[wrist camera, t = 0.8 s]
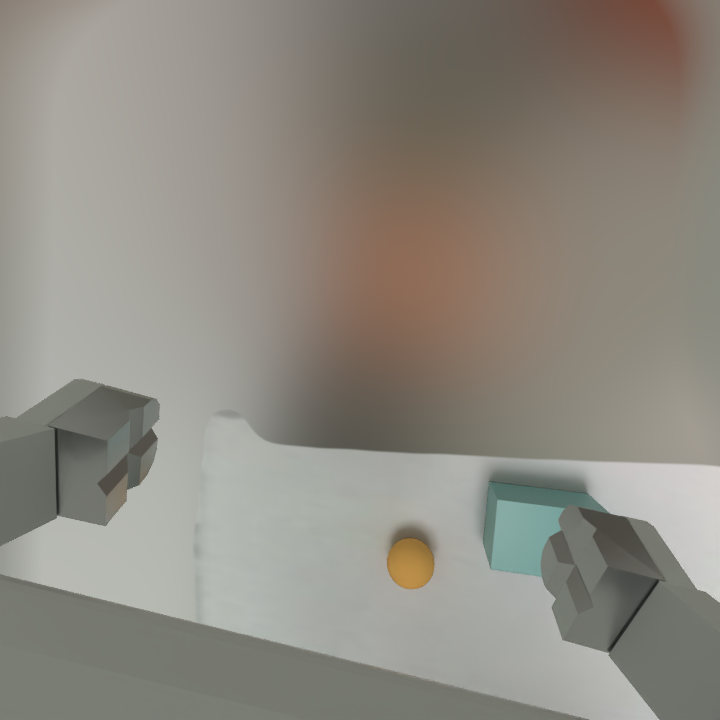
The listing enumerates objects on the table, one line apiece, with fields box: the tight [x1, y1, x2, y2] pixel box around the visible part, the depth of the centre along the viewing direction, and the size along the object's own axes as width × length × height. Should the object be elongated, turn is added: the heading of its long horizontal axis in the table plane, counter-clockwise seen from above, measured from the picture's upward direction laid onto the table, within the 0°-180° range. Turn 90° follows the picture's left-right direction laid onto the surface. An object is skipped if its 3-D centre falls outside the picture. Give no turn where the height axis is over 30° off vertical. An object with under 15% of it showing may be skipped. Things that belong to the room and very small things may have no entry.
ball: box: [387, 538, 434, 589], centre depth 51 cm, size 5×5×5 cm
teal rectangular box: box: [483, 482, 610, 577], centre depth 48 cm, size 10×7×6 cm, turn 85°
